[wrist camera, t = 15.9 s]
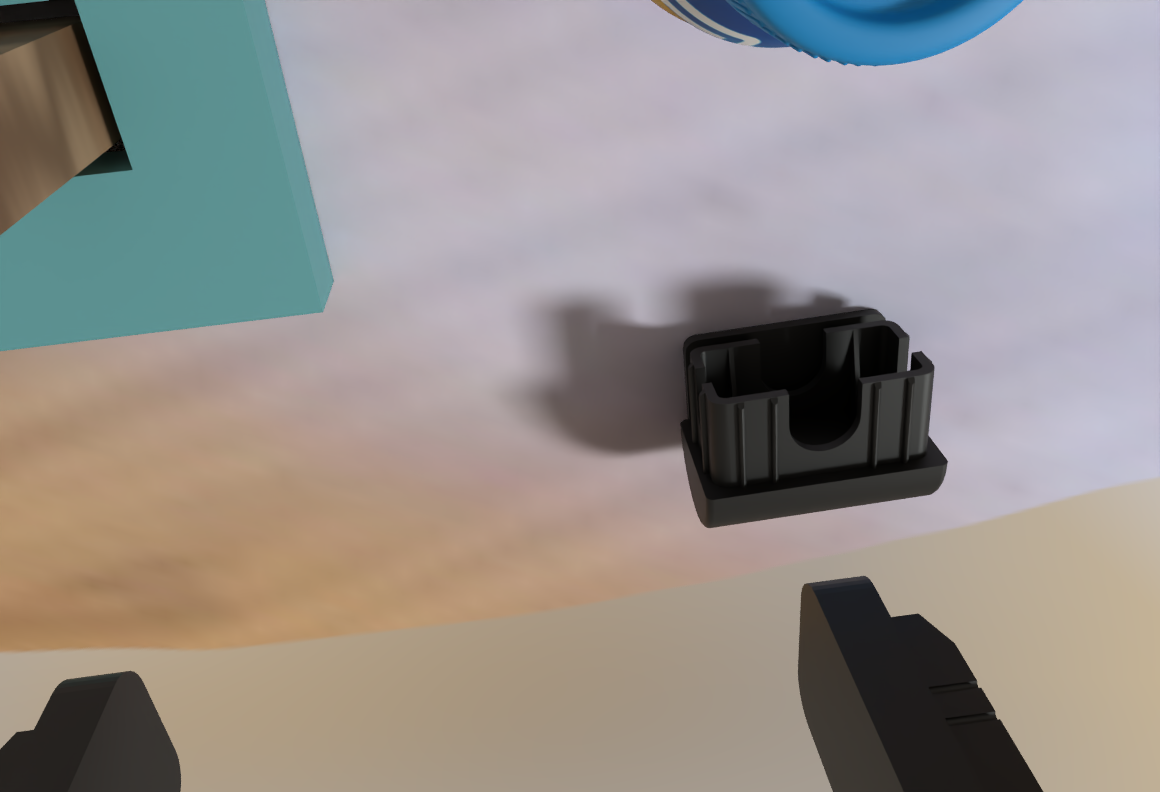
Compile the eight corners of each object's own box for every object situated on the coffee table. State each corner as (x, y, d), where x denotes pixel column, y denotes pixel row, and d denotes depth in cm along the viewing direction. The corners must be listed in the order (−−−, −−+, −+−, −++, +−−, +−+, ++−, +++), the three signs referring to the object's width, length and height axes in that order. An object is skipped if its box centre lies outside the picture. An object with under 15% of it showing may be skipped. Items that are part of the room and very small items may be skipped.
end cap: (680, 467, 45) (710, 558, 39) (671, 337, 41) (702, 416, 35) (884, 436, 45) (944, 523, 39) (892, 304, 41) (959, 378, 36)
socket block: (-318, -194, 29) (-397, -198, 26) (203, -247, 29) (177, -256, 27) (-60, 328, 38) (-100, 363, 35) (333, 281, 38) (322, 312, 36)
